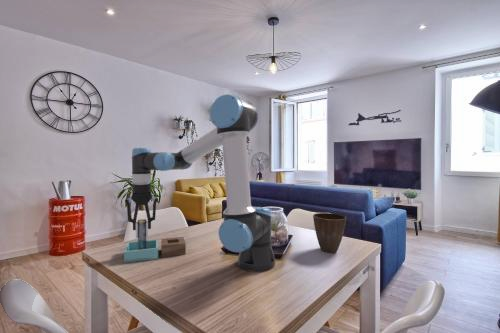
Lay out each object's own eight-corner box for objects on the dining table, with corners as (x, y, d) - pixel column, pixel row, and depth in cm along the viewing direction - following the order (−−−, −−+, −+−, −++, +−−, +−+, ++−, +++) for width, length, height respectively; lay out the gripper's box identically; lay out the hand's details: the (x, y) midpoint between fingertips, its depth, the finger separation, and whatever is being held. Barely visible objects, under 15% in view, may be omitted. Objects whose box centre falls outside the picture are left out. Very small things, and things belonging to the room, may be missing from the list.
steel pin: (146, 252, 113) (146, 220, 112) (137, 253, 112) (137, 221, 111) (146, 249, 116) (146, 218, 116) (138, 250, 115) (137, 219, 114)
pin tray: (158, 258, 110) (158, 248, 110) (124, 262, 105) (124, 252, 105) (158, 248, 122) (157, 239, 122) (127, 252, 118) (127, 242, 118)
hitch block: (185, 254, 115) (185, 243, 115) (161, 257, 112) (161, 245, 112) (183, 247, 124) (183, 236, 124) (161, 249, 121) (161, 238, 121)
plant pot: (316, 243, 132) (316, 211, 131) (347, 247, 125) (347, 214, 125) (309, 252, 118) (310, 217, 118) (344, 258, 112) (344, 221, 111)
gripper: (161, 182, 119) (161, 232, 120) (121, 183, 114) (122, 236, 114) (162, 183, 112) (162, 237, 113) (119, 184, 106) (119, 241, 107)
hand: (142, 236), depth 113 cm, fingers closed on steel pin, 3 cm apart
